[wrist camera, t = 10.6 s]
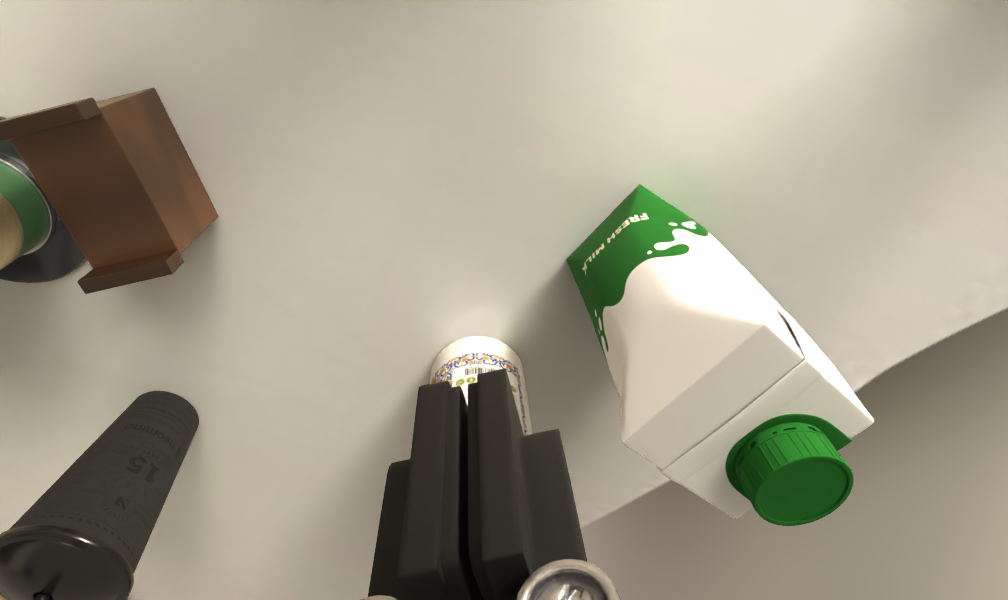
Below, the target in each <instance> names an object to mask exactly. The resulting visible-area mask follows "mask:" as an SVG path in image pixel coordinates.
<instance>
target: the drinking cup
mask: <svg viewBox="0 0 1008 600" xmlns="http://www.w3.org/2000/svg"><path fill="white" fill-rule="evenodd" d="M198 424H199V418H198V414H197V412H196V410H195V409H194V407H193V406H192V405H191V404H190V403H189V402H188V401H186V400H185V399H183V398H182V397H180V396H178V395H175V394H173V393H169V392H163V391H153V392H148V393H145V394H143V395H141V396H139V397H138V398H137V399H136V400H135V401H134V402H133V403H132V404H131V405H130V406H129V407H128V408H127V409H126V410H125V411H124V412H123V413H122V414H121V415H120V416H119V417H118V418H117V419H116V420H115V421H114V422H113V423H112V424H111V425H110V426H109V427H108V428H107V429H106V430H105V431H104V433H103V434H102V435H101V436H100V437H99V438H98V439H97V440H96V441H95V442H94V443H93V444H92V445H91V446H90V447H89V448H88V449H87V450H86V451H85V452H84V453H83V454H82V455H81V456H80V457H79V458H78V459H77V460H76V461H75V462H74V463H73V464H72V465H71V466H70V468H69V469H68V470H67V471H66V472H65V473H64V474H63V475H62V476H61V477H60V478H59V479H58V480H57V481H56V482H55V483H54V484H53V485H52V486H51V487H50V488H49V489H48V490H47V491H46V492H45V493H44V494H43V495H42V496H41V497H40V498H39V499H38V500H37V501H36V502H35V504H34V505H33V506H32V507H31V508H30V509H29V510H28V511H27V512H26V513H25V514H24V515H23V516H22V517H21V518H20V519H19V520H18V521H17V522H16V523H15V524H14V525H13V526H12V527H11V528H10V529H9V530H7V531H5V532H3V533H1V534H0V596H2V597H3V598H5V599H6V600H126V599H127V597H128V596H129V594H130V592H131V590H132V587H133V583H134V576H133V574H134V572H135V569H136V567H137V565H138V562H139V560H140V558H141V556H142V553H143V551H144V549H145V546H146V544H147V542H148V540H149V537H150V535H151V533H152V530H153V528H154V526H155V524H156V521H157V519H158V517H159V514H160V512H161V510H162V507H163V505H164V503H165V501H166V498H167V496H168V494H169V491H170V489H171V487H172V485H173V482H174V480H175V478H176V475H177V473H178V471H179V469H180V466H181V464H182V462H183V459H184V457H185V455H186V452H187V450H188V448H189V446H190V443H191V441H192V439H193V436H194V434H195V432H196V430H197V427H198Z"/></svg>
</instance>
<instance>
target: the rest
mask: <svg viewBox="0 0 1008 600" xmlns="http://www.w3.org/2000/svg"><path fill="white" fill-rule="evenodd" d="M8 139H9V140H10V141H11V143H12V144H13V146H14V147H15V149H16V151H17V152H18V154H19V155H20V157H21V158H22V160H23V161H24V163H25V164H26V166H27V168H28V169H29V171H30V172H31V174H32V175H33V177H34V178H35V180H36V181H37V183H38V185H39V186H40V188H41V189H42V191H43V192H44V194H45V195H46V197H47V198H48V200H49V202H50V203H51V205H52V206H53V208H54V209H55V211H56V212H57V214H58V215H59V217H60V219H61V220H62V222H63V223H64V225H65V226H66V228H67V229H68V231H69V232H70V234H71V236H72V237H73V239H74V240H75V242H76V243H77V245H78V246H79V248H80V250H81V251H82V253H83V254H84V256H85V257H86V259H87V260H88V262H89V263H90V265H91V267H92V268H93V270H91V271H90V272H89V273H88V274H86V275H85V276H84V277H83V278H81V279H80V280H79V281H78V284H79V285H80V287H81V288H82V290H83V291H84V293H85V294H88V293H92V292H96V291H101V290H105V289H109V288H114V287H118V286H122V285H127V284H131V283H135V282H140V281H144V280H148V279H153V278H157V277H161V276H166V275H170V274H173V273H174V272H175V271H176V270H177V269H178V268H179V267H180V266H181V265H182V264H183V263H184V261H183V259H182V257H181V255H180V253H181V252H182V251H183V250H184V249H185V248H186V247H187V246H188V245H190V244H191V243H192V242H193V241H194V240H195V239H196V238H197V237H198V236H199V235H200V234H201V233H202V232H203V231H204V230H205V229H206V228H207V227H208V226H209V225H210V224H211V223H212V222H213V221H214V220H215V219H216V218H217V217H218V214H217V212H216V210H215V208H214V206H213V204H212V202H211V200H210V198H209V196H208V194H207V192H206V190H205V188H204V186H203V184H202V182H201V180H200V178H199V176H198V174H197V172H196V170H195V168H194V166H193V164H192V162H191V160H190V158H189V156H188V154H187V152H186V150H185V148H184V146H183V144H182V142H181V140H180V138H179V136H178V134H177V132H176V130H175V128H174V126H173V124H172V122H171V120H170V118H169V116H168V114H167V112H166V110H165V108H164V106H163V104H162V102H161V100H160V98H159V96H158V94H157V92H156V90H155V88H151V89H147V90H143V91H139V92H135V93H131V94H127V95H123V96H119V97H115V98H111V99H107V100H103V101H99V102H95V100H94V99H93V98H87V99H83V100H79V101H75V102H71V103H67V104H63V105H59V106H55V107H51V108H47V109H43V110H39V111H35V112H31V113H27V114H24V115H20V116H16V117H12V118H8V119H4V120H0V141H4V140H8Z"/></svg>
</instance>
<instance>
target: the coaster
mask: <svg viewBox="0 0 1008 600" xmlns="http://www.w3.org/2000/svg"><path fill="white" fill-rule="evenodd" d="M4 119H6V118H3V117H0V120H4ZM0 156H3V157H5V158H8V159H10V160H12V161H13V162H15V163H17V164H19V165H20V166H21V167H23V168H24V169H26V170H27V171H28V172H29V173H31V172H30V171H29V169H28V168H27V166H26V164H25V163H24V161H23V160H22V158H21V157H20V155H19V154H18V152H17V151H16V149H15V147H14V146H13V144H12V143H11V141H10V140H9V139H8V140H4V141H0ZM55 213H56V227H55V231H54V233H53V236H52V237H51V239H50V240H49V241H48V242H47V243H46V244H45V245H44V246H43V247H41V248H40V249H38V250H36V251H34V252H32V253H30V254H26V255H22V256H20V257H19V258H17V259H16V260H14V261H13V262H12V263H10V264H9V265H7V266H6V267H4V268H2V269H1V270H0V279H3V280H8V281H14V282H25V283H34V282H44V281H51V280H54V279H57V278H60V277H62V276H65V275H67V274H69V273H70V272H72V271H73V270H75V269H76V268H77V267H79V266H80V265H81V264H82V263H83V262H84V261H85V260H86V257H85V256H84V254H83V253H82V251H81V250H80V248H79V246H78V245H77V243H76V242H75V240H74V239H73V237H72V236H71V234H70V232H69V231H68V229H67V228H66V226H65V225H64V223H63V222H62V220H61V219H60V217H59V215H58V214H57V212H56V211H55Z"/></svg>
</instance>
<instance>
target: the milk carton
mask: <svg viewBox="0 0 1008 600" xmlns="http://www.w3.org/2000/svg"><path fill="white" fill-rule="evenodd" d="M567 262H568V264H569V267H570V269H571V271H572V274H573V276H574V279H575V281H576V283H577V286H578V288H579V290H580V293H581V295H582V298H583V300H584V303H585V305H586V307H587V310H588V312H589V315H590V317H591V320H592V322H593V325H594V328H595V331H596V334H597V336H598V339H599V342H600V345H601V347H602V350H603V353H604V356H605V358H606V361H607V364H608V367H609V369H610V372H611V375H612V378H613V380H614V383H615V386H616V389H617V391H618V394H619V397H620V408H621V433H622V443H623V444H624V445H626V446H627V447H629V448H630V449H632V450H633V451H635V452H636V453H638V454H639V455H641V456H642V457H644V458H645V459H647V460H648V461H650V462H651V463H653V464H654V465H655V466H656V467H657V468H658V469H659V471H660V472H661V473H662V474H664V475H665V476H666V477H668V478H669V479H671V480H673V481H674V482H676V483H679V484H681V485H682V486H684V487H686V488H687V489H689V490H690V491H692V492H693V493H695V494H696V495H698V496H700V497H701V498H703V499H704V500H706V501H707V502H709V503H710V504H712V505H713V506H715V507H717V508H718V509H720V510H721V511H723V512H724V513H726V514H728V515H729V516H731V517H733V518H734V519H736V518H738V517H740V516H741V515H743V514H744V513H746V512H747V511H748V510H749V509H750V508H752V507H754V509H755V510H756V511H757V513H758V514H759V515H760V516H761V517H762V518H763V519H764V520H766V521H768V522H770V523H773V524H777V525H783V526H794V525H801V524H806V523H810V522H813V521H815V520H818V519H820V518H823V517H825V516H826V515H828V514H830V513H831V512H833V511H834V510H835V509H837V508H838V507H839V506H840V505H841V504H842V503H843V502H844V501H845V500H846V498H847V497H848V495H849V494H850V492H851V489H852V487H853V473H852V470H851V468H850V467H849V466H848V465H847V463H846V462H845V460H844V459H843V458H842V457H841V455H840V454H839V453H838V450H839V449H841V448H843V447H844V446H845V445H847V444H848V443H850V442H851V441H852V440H851V439H850V438H852V437H853V436H855V435H856V434H858V433H859V432H861V431H863V430H864V429H866V428H867V427H868V426H870V425H871V424H872V423H873V422H874V419H873V418H872V416H871V415H870V414H869V413H868V411H867V410H866V409H865V407H864V406H863V405H862V404H861V402H860V401H859V399H858V398H857V396H856V395H855V394H854V392H853V391H852V389H851V388H850V387H849V385H848V384H847V383H846V381H845V380H844V378H843V377H842V376H841V374H840V373H839V372H838V370H837V369H836V368H835V366H834V365H833V364H832V363H831V361H830V360H829V359H828V358H827V357H826V356H825V354H824V353H823V352H822V351H821V350H820V348H819V347H818V346H817V345H816V344H815V343H814V341H813V340H812V339H811V338H810V337H809V336H808V334H807V333H806V332H805V331H804V330H803V329H802V328H801V327H800V325H799V324H798V323H797V322H796V321H795V320H794V319H793V318H792V317H791V316H790V315H789V314H788V313H787V312H786V311H785V310H784V309H783V308H782V307H781V306H780V305H779V304H778V302H777V301H776V300H775V299H774V298H773V297H772V296H771V295H770V294H769V293H768V292H767V291H766V290H765V289H764V288H763V287H762V286H761V285H760V284H759V282H758V281H757V280H756V279H755V278H754V277H753V276H752V275H751V274H750V273H749V272H748V271H747V270H746V269H745V268H744V267H743V266H742V265H741V264H740V263H739V261H738V260H737V259H736V258H735V257H734V256H733V255H732V254H731V253H730V252H729V251H728V250H727V249H726V248H725V247H724V246H723V245H722V244H721V243H720V242H719V241H718V240H717V239H716V238H715V237H714V236H713V235H711V234H710V233H709V232H708V231H707V230H706V229H704V228H703V227H702V226H701V225H699V224H698V223H697V222H695V221H694V220H693V219H691V218H690V217H688V216H687V215H685V214H684V213H682V212H681V211H679V210H678V209H676V208H675V207H673V206H672V205H670V204H668V203H667V202H665V201H664V200H662V199H661V198H659V197H658V196H657V195H655V194H654V193H652V192H651V191H649V190H648V189H646V188H645V187H643V186H642V185H639V186H638V187H637V188H636V189H635V190H634V191H633V192H632V193H631V194H630V195H629V196H628V197H627V198H626V199H625V200H624V201H623V202H622V203H621V204H620V205H619V206H618V207H617V208H616V209H615V210H614V211H613V212H612V213H611V214H610V215H609V216H608V217H607V219H606V220H605V221H604V222H603V223H602V224H601V225H600V226H599V227H598V228H597V229H596V230H595V231H594V232H593V233H592V234H591V235H590V236H589V237H588V238H587V239H586V240H585V241H584V242H583V243H582V244H581V245H580V246H579V247H578V248H577V249H576V250H575V251H574V252H573V253H572V254H571V255H570V256H569V257H568V259H567Z"/></svg>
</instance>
